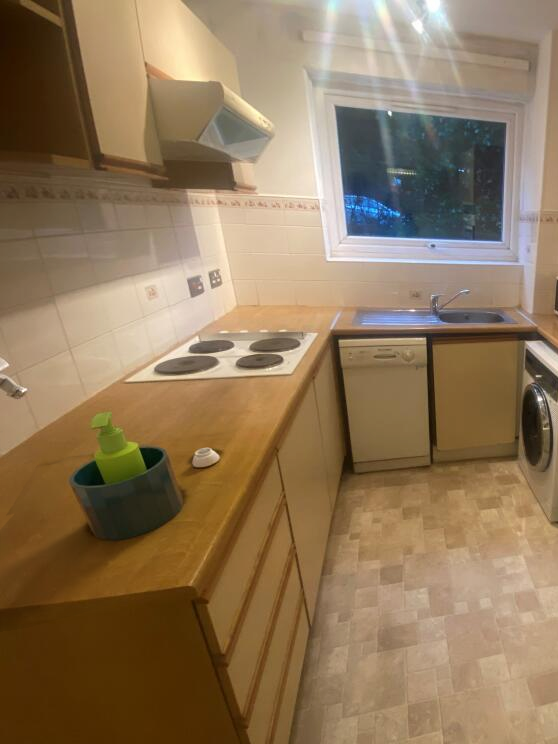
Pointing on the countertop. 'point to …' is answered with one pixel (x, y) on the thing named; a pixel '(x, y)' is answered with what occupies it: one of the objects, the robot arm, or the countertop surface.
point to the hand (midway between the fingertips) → (9, 405)
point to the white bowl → (205, 457)
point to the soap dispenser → (115, 452)
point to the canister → (128, 497)
